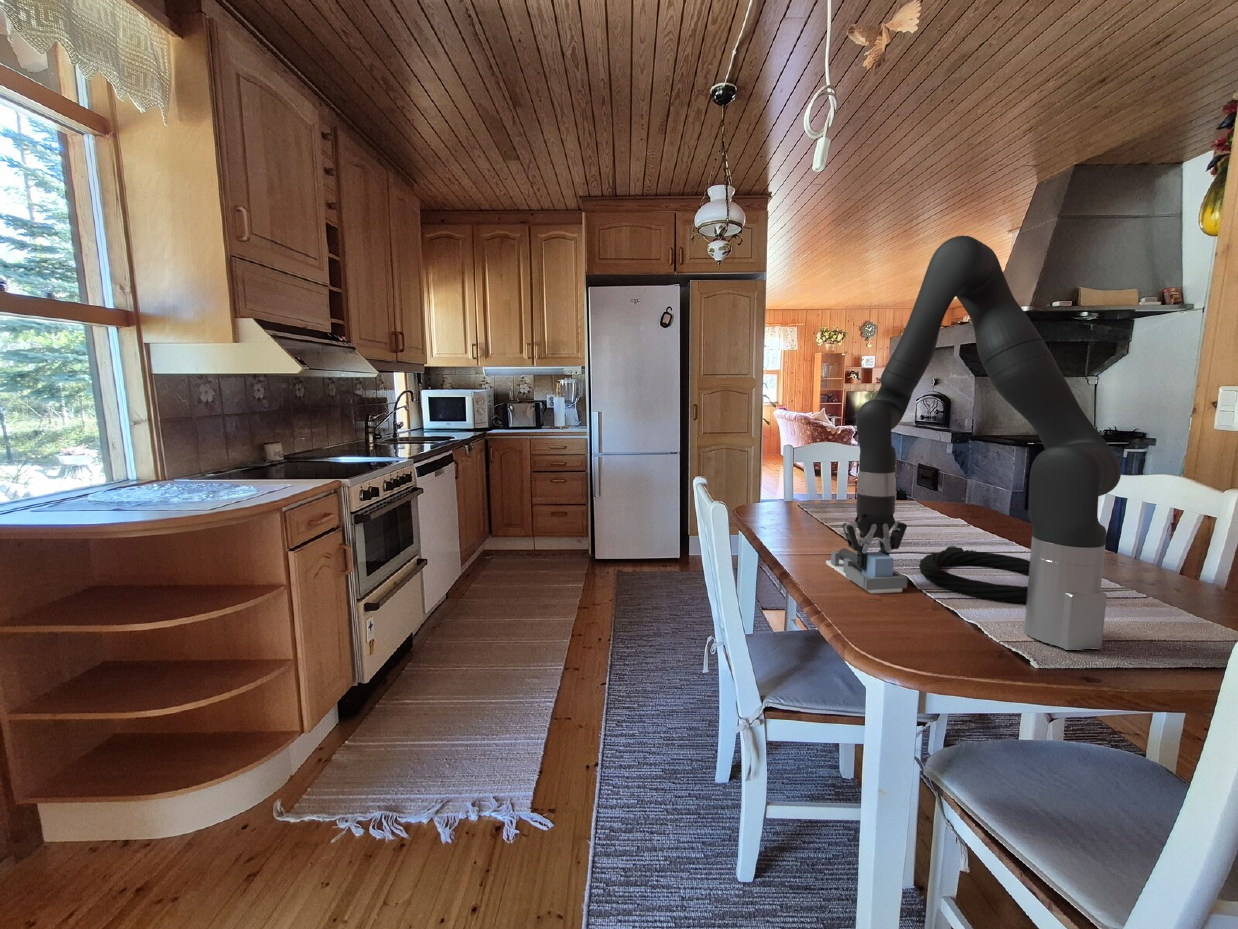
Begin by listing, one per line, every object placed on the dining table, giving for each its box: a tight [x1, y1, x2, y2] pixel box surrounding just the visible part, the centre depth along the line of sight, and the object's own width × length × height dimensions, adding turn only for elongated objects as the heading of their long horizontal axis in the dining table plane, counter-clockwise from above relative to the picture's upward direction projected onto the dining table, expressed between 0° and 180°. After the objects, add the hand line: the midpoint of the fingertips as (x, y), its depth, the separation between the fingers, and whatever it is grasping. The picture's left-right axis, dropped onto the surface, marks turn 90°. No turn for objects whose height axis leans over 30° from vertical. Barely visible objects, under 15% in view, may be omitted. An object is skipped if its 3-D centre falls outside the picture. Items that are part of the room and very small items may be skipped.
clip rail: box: [825, 550, 908, 595], centre depth 119 cm, size 20×9×4 cm, turn 4°
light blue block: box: [837, 547, 894, 577], centre depth 119 cm, size 17×4×6 cm, turn 4°
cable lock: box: [918, 545, 1030, 605], centre depth 116 cm, size 28×4×30 cm
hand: (872, 567), depth 115 cm, fingers closed on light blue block, 4 cm apart
